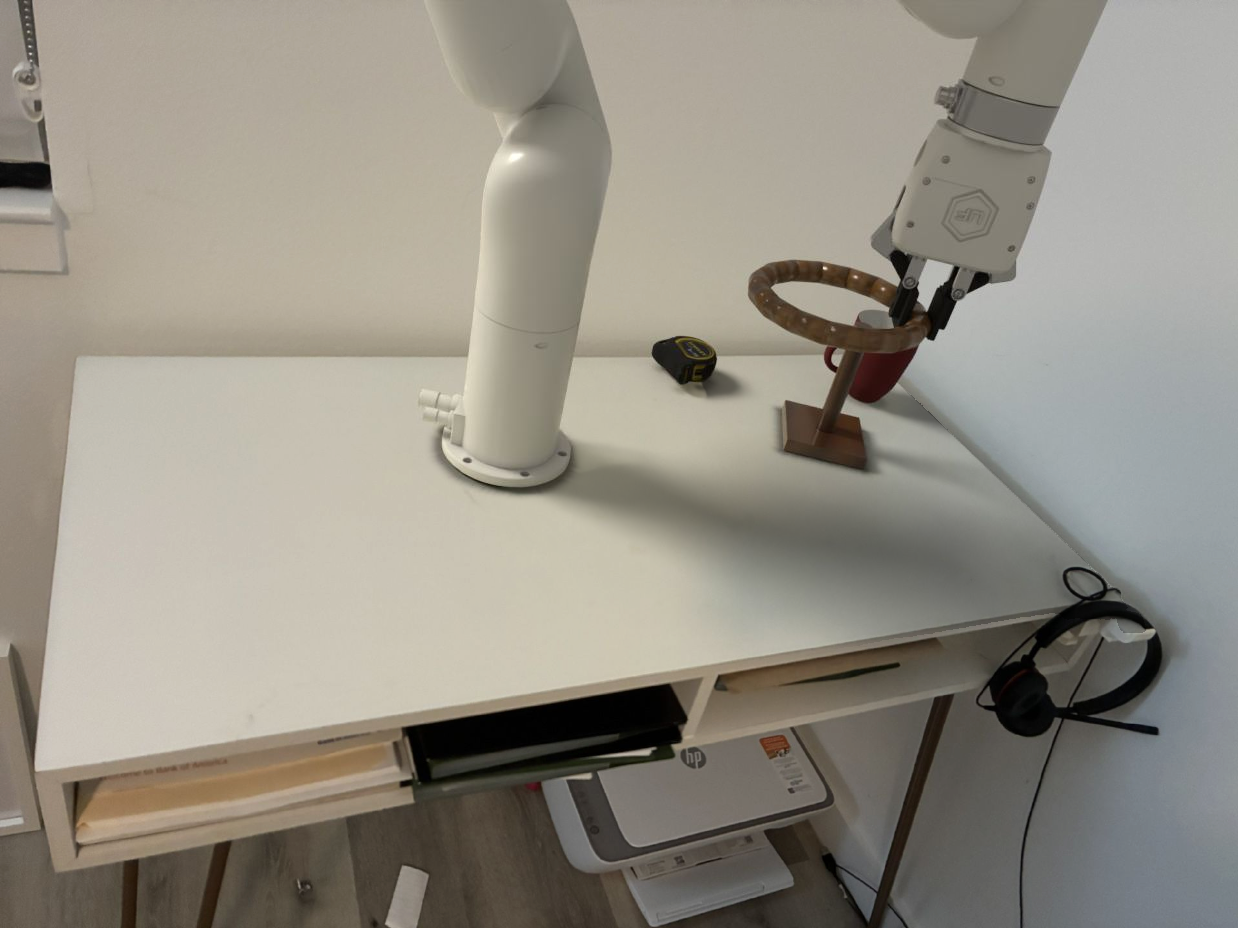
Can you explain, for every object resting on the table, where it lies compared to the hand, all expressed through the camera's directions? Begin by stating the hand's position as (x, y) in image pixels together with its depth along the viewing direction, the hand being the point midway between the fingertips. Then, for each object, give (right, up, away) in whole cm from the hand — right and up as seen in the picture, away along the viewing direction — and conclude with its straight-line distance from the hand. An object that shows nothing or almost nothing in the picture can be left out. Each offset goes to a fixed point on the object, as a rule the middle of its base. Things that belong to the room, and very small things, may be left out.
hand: (912, 328), depth 81 cm
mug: (+4, -3, +35) cm, 35 cm away
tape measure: (-19, -1, +30) cm, 35 cm away
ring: (-7, +2, 0) cm, 7 cm away
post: (-3, -9, +24) cm, 26 cm away
